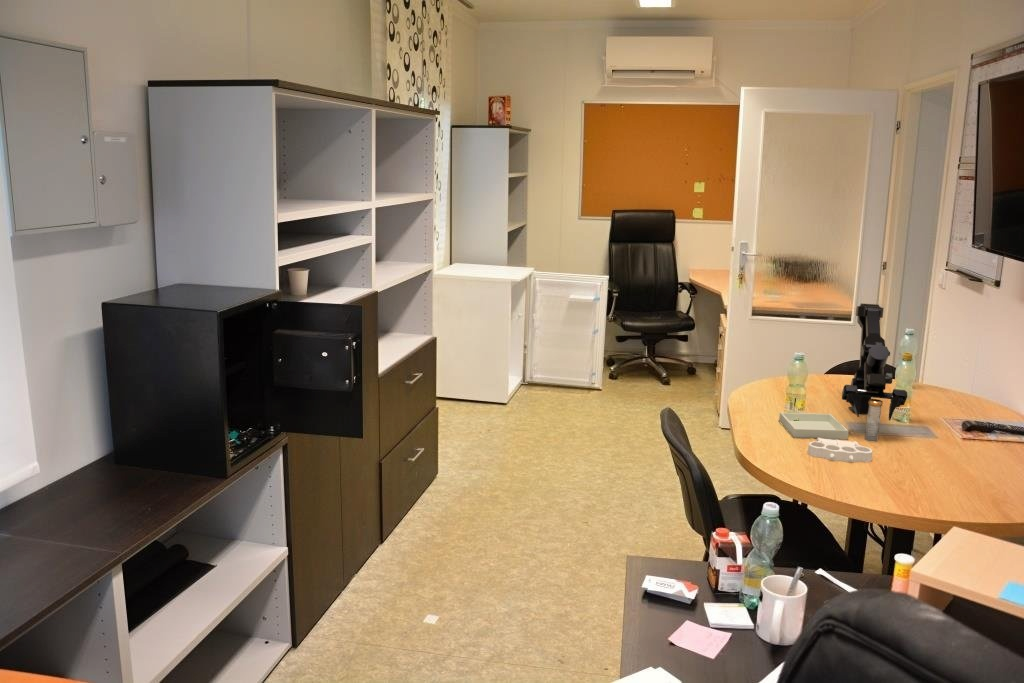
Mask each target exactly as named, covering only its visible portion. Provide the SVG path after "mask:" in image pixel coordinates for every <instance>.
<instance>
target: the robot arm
mask: <svg viewBox="0 0 1024 683" xmlns="http://www.w3.org/2000/svg"><path fill="white" fill-rule="evenodd" d="M855 316H856V317H857V318H856V319H857V324H858V325H859V327H860V328H861V333H860V335H861V336H860V352H859V367H858V369H857V370H856V372H855V374H854V375H853V378H852V379H851V381H850V384H845V385H844V386H843V388H842V392H841V399H842V400H843V401H845V402H846V403H849V404H850V406H848V409H849V410H850V411H851V412H852V413H854V414H855V415H856V417H857V418H860V414H863V415H864V414H865V415H868V410H869V399H884V400H890V403H889V409H888V421H891V419H892V416H893V414H894V411H895V410H896V408H900V407H901V406H904V405H905V404H906V401H907V399H908V392H907V390H906V389H896V388H893V390H892V392H885V390H886V385H891V384H893V373H892V372H891V373H889V372H886V373H885V374H884V371H885V370H884V367H885V366H886V363H887V361H888V358H889V357H890V356H891V351H889V349H888V346H886V340H885V338H883V337H882V336H881V319H882V318H884V307H881V306H880V304H876V303H875V304H874V303H860V304H859V305H857V306H856V308H855Z"/></svg>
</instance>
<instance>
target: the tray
mask: <svg viewBox="0 0 1024 683" xmlns="http://www.w3.org/2000/svg"><path fill="white" fill-rule="evenodd" d="M796 417H797V418H799V420H801V421H793V420H796ZM778 422H781V423H782V424H783V425H782V424H781V423H780V424H781V425H782V426H783V428H785V430H786V429H787V430H788V431H787V430H786V431H787V432H788V433H789V434H790V436H791V437H792V438H793V439H810V438H813V440H814V439H815V440H817V438H822V439H832V440H836V439H837V440H843V439H849V432H850V431H849V429H848V428H846V427H845V426H844V425H843V424H842V423H841V422H840V421H839V420H838V419H837V418H835V416H833V415H832V414H831V413H814V412H813V413H811V412H810V413H809V412H782V411H781V412H779V418H778Z"/></svg>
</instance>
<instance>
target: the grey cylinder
mask: <svg viewBox="0 0 1024 683" xmlns="http://www.w3.org/2000/svg"><path fill="white" fill-rule="evenodd" d="M882 407H883V400H880V399H879V398H871V399H869V410H868V414H867V418H866V419H867V420H866V425H865V426H866V428H865V435H864V441H868V442H870V441H876V442H878V439H879V438H878V436H879V428H880V422H881V421H880V420H881V413H882Z"/></svg>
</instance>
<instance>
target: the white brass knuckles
mask: <svg viewBox="0 0 1024 683" xmlns="http://www.w3.org/2000/svg"><path fill="white" fill-rule="evenodd" d="M807 445H808V447H807V454H808V455H809V456H811V457H813V458H821V459H826V460H829V461H833V462H844V463H858V462H860V463H862V462H863V463H870V462H872V459H873V452H874V450H873V449H872V448H870V447H868V446H865V445H860V444H859V442H858V441H855V440H854V441H850V440H849V441H848V440H842V439H822V438H817V439H816V441H810V442H808V444H807Z"/></svg>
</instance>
